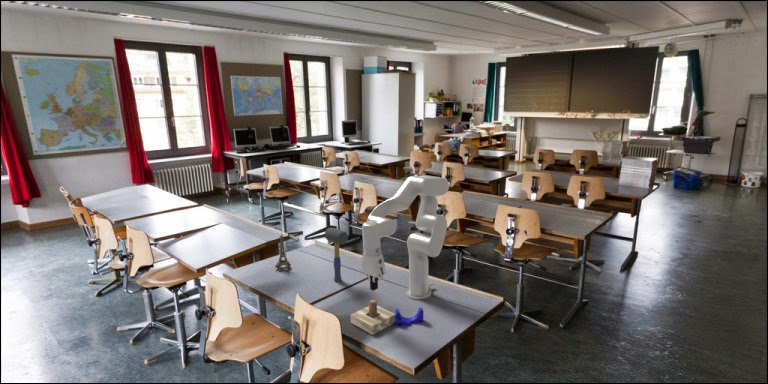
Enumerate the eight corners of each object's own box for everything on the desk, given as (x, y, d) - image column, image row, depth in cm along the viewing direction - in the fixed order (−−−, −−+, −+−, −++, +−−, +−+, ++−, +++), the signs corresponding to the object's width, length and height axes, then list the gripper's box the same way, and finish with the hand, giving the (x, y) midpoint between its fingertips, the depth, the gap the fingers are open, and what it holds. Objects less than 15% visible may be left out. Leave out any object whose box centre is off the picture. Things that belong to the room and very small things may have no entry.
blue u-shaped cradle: (396, 326, 180) (396, 314, 179) (395, 321, 185) (395, 309, 184) (423, 325, 182) (424, 312, 180) (422, 320, 186) (422, 307, 185)
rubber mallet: (350, 283, 224) (349, 229, 218) (339, 287, 219) (338, 233, 213) (335, 277, 233) (334, 225, 227) (325, 281, 228) (323, 228, 221)
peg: (373, 319, 186) (373, 299, 184) (379, 322, 184) (378, 301, 182) (367, 322, 184) (366, 301, 182) (373, 325, 181) (372, 304, 179)
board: (373, 311, 193) (373, 303, 192) (395, 322, 184) (395, 314, 183) (350, 322, 184) (350, 314, 183) (372, 334, 174) (372, 326, 173)
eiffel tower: (273, 267, 248) (271, 227, 243) (292, 265, 251) (289, 225, 246) (274, 274, 238) (272, 232, 233) (293, 272, 241) (291, 230, 236)
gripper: (390, 251, 176) (392, 291, 181) (366, 243, 187) (368, 281, 191) (378, 257, 171) (380, 297, 176) (354, 248, 181) (356, 287, 186)
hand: (374, 289), depth 183 cm, fingers closed
